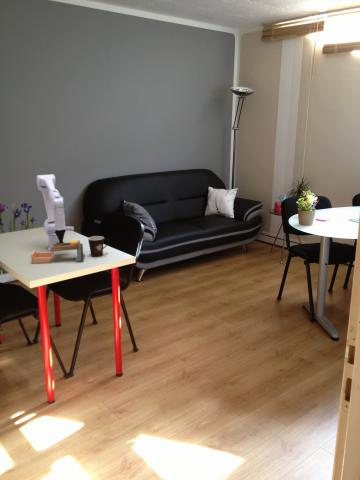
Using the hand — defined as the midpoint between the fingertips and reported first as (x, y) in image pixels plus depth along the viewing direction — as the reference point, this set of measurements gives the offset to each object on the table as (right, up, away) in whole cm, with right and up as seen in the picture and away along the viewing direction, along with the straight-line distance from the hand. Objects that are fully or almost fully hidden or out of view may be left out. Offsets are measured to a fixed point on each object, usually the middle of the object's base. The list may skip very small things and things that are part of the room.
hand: (61, 243), depth 246 cm
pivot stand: (+12, -9, -5) cm, 16 cm away
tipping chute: (+5, -2, -4) cm, 6 cm away
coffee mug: (+21, -7, +2) cm, 22 cm away
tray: (-8, -9, -7) cm, 14 cm away
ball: (+9, 0, -8) cm, 12 cm away
